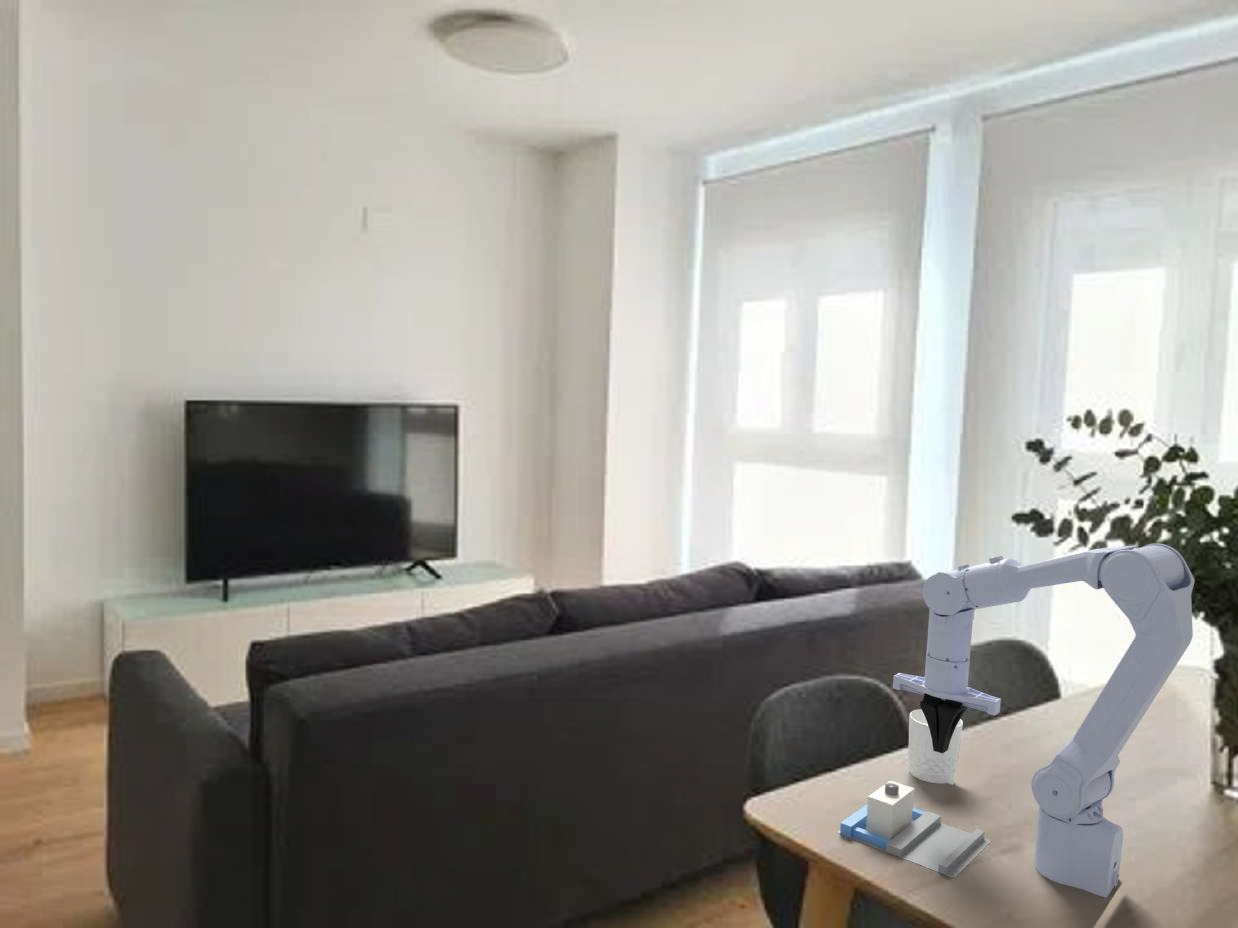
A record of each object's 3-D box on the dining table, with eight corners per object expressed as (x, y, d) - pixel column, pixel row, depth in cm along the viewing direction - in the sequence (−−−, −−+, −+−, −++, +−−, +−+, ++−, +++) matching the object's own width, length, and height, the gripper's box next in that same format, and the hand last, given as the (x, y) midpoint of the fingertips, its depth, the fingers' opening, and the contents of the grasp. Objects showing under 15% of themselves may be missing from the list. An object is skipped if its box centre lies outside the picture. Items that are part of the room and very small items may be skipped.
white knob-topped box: (911, 822, 128) (914, 781, 127) (890, 841, 123) (893, 798, 122) (887, 814, 130) (890, 774, 130) (865, 831, 125) (868, 789, 124)
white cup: (923, 793, 140) (928, 729, 139) (895, 770, 147) (899, 710, 146) (968, 788, 142) (973, 725, 141) (938, 767, 150) (942, 707, 149)
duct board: (991, 847, 124) (992, 829, 124) (953, 885, 114) (954, 866, 114) (879, 807, 134) (880, 791, 134) (836, 839, 125) (837, 821, 124)
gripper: (1011, 662, 127) (1003, 757, 128) (910, 639, 136) (903, 728, 138) (993, 673, 122) (984, 772, 123) (889, 648, 131) (882, 740, 133)
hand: (940, 750), depth 130 cm, fingers closed
